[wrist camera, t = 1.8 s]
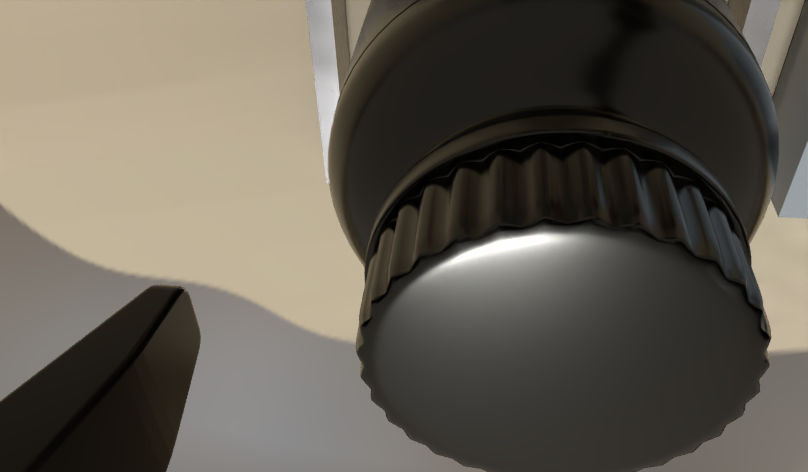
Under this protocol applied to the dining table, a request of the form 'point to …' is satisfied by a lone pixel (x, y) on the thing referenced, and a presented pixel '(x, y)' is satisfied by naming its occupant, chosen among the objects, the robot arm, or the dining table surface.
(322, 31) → the grey square frame
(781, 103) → the parts tray
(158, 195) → the dining table surface
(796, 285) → the dining table surface
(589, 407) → the supplement bottle
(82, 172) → the dining table surface
